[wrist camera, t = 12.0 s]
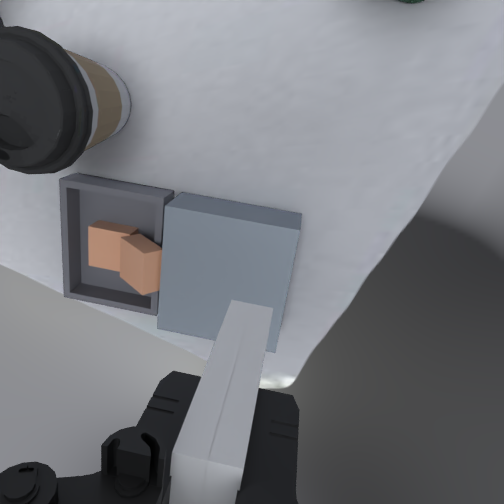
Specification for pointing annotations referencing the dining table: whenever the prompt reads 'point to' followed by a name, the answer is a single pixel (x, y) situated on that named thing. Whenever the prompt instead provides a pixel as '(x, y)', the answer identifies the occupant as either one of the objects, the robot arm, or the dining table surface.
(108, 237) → the tile rear
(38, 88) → the coffee cup
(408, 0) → the coffee jar
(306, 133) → the dining table surface
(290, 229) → the blue-grey square block
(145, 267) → the tile front
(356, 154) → the dining table surface
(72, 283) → the box
